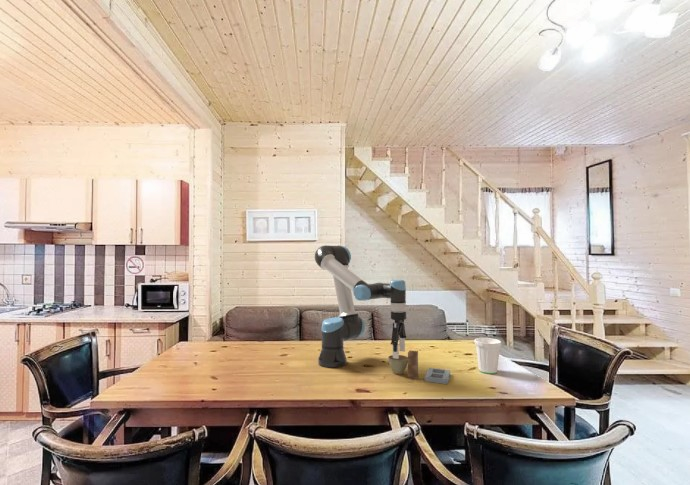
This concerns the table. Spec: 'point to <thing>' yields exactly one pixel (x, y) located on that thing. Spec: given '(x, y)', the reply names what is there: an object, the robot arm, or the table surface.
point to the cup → (488, 354)
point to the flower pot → (398, 363)
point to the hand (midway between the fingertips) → (399, 354)
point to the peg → (413, 364)
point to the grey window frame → (437, 375)
